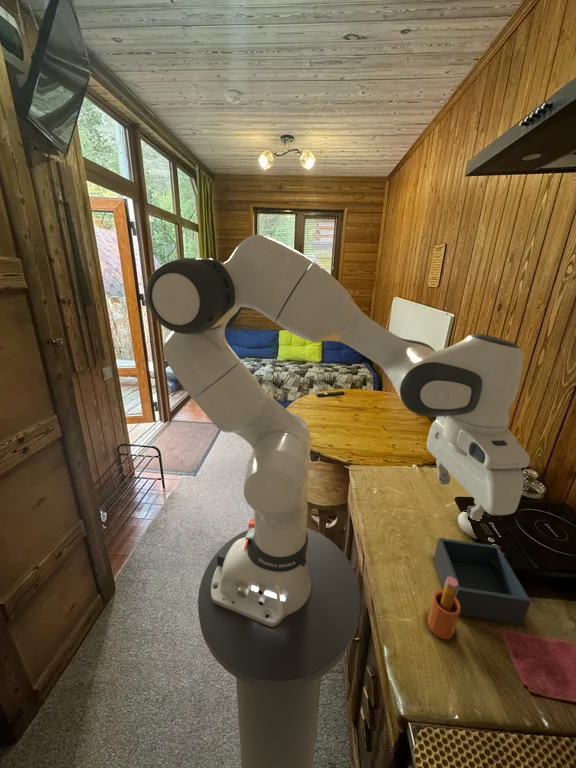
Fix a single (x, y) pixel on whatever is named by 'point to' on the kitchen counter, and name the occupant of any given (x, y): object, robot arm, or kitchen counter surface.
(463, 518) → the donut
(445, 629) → the pen cup
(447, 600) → the pencil
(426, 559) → the kitchen counter surface
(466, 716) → the kitchen counter surface
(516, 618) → the bin
